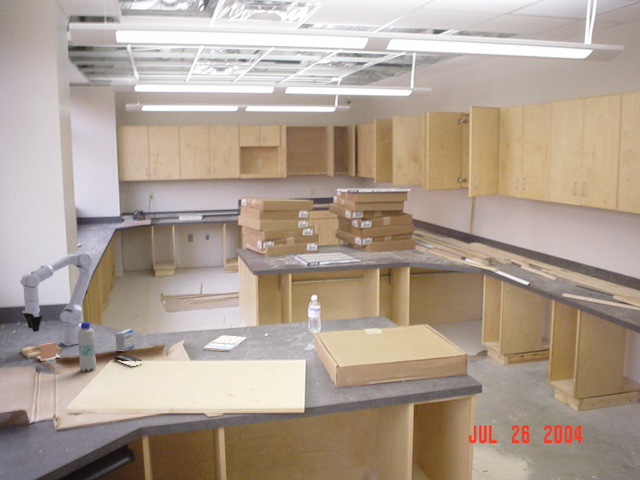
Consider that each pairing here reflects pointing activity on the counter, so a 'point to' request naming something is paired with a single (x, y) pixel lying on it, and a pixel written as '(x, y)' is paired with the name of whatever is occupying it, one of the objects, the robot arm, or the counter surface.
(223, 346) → the white book
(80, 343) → the bottle
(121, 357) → the multiport hub
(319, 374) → the counter surface
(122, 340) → the medicine box
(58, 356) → the pad
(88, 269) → the robot arm
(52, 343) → the peach cuboid
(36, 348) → the gold flat square frame
